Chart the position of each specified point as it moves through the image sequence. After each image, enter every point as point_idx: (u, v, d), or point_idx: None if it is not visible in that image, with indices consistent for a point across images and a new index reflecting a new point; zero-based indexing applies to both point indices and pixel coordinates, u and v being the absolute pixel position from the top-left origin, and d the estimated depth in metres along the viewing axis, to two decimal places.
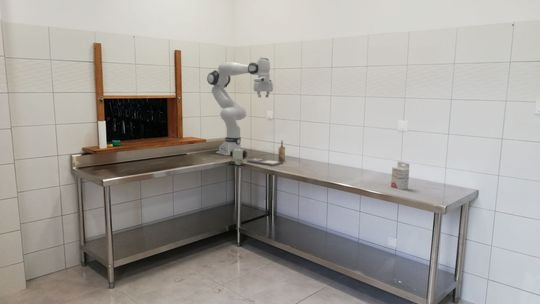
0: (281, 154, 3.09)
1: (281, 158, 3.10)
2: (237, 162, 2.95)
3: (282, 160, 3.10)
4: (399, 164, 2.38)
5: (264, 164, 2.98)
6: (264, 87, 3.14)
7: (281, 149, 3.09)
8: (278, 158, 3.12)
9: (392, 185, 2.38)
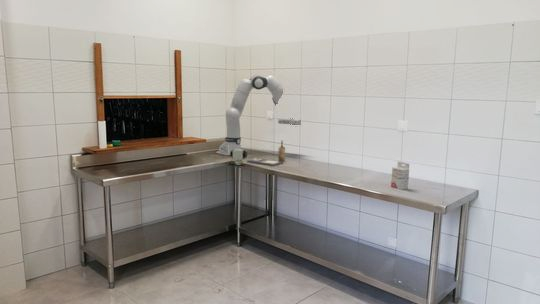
0: (281, 154, 3.09)
1: (281, 158, 3.10)
2: (237, 162, 2.95)
3: (282, 160, 3.10)
4: (399, 164, 2.38)
5: (264, 164, 2.98)
6: None
7: (281, 149, 3.09)
8: (278, 158, 3.12)
9: (392, 185, 2.38)
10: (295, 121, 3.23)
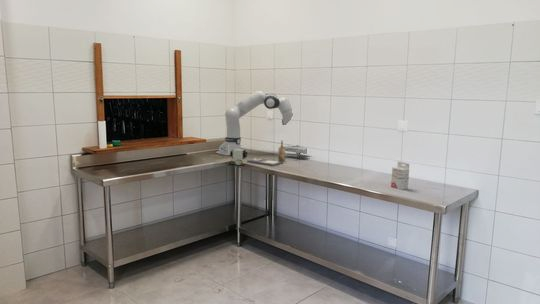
0: (281, 154, 3.09)
1: (281, 158, 3.10)
2: (237, 162, 2.95)
3: (282, 160, 3.10)
4: (399, 164, 2.38)
5: (264, 164, 2.98)
6: None
7: (281, 149, 3.09)
8: (278, 158, 3.12)
9: (392, 185, 2.38)
10: (301, 150, 3.20)
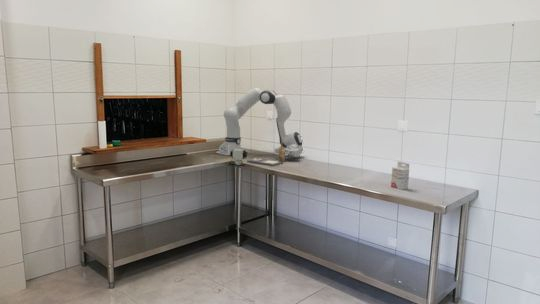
0: (281, 154, 3.09)
1: (281, 158, 3.10)
2: (237, 162, 2.95)
3: (282, 160, 3.10)
4: (399, 164, 2.38)
5: (264, 164, 2.98)
6: None
7: (281, 149, 3.09)
8: (278, 158, 3.12)
9: (392, 185, 2.38)
10: (292, 151, 3.10)
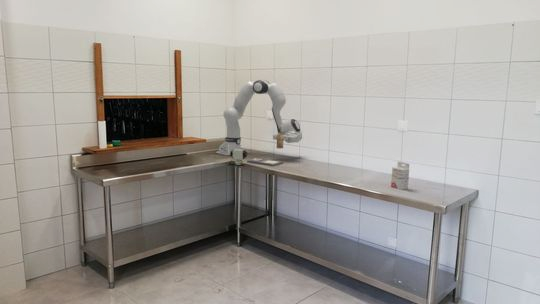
0: (279, 140, 3.06)
1: (280, 145, 3.06)
2: (237, 162, 2.95)
3: (280, 146, 3.06)
4: (399, 164, 2.38)
5: (264, 164, 2.98)
6: None
7: (279, 135, 3.05)
8: None
9: (392, 185, 2.38)
10: (291, 138, 3.06)
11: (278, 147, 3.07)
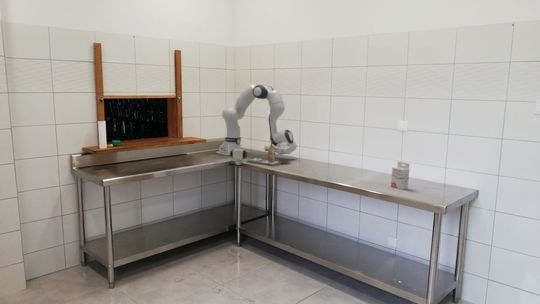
0: (271, 154, 2.99)
1: (271, 159, 2.99)
2: (237, 162, 2.95)
3: (272, 160, 3.00)
4: (399, 164, 2.38)
5: (264, 164, 2.98)
6: None
7: (270, 149, 2.98)
8: (268, 158, 3.01)
9: (392, 185, 2.38)
10: (283, 149, 2.99)
11: (269, 161, 3.00)
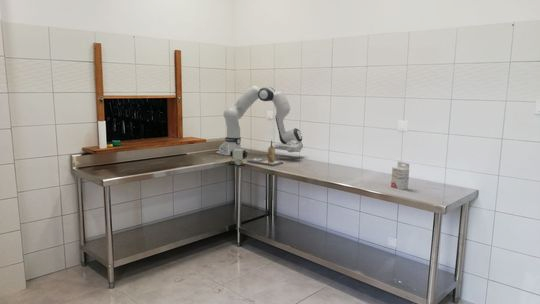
0: (271, 154, 2.99)
1: (271, 159, 2.99)
2: (237, 162, 2.95)
3: (272, 160, 3.00)
4: (399, 164, 2.38)
5: (264, 164, 2.98)
6: None
7: (271, 149, 2.98)
8: (268, 158, 3.01)
9: (392, 185, 2.38)
10: (292, 147, 3.09)
11: (269, 161, 3.00)
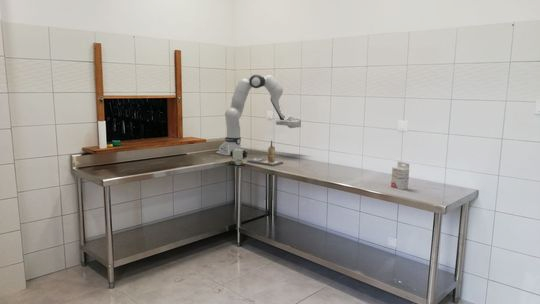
0: (271, 154, 2.99)
1: (271, 159, 2.99)
2: (237, 162, 2.95)
3: (272, 160, 3.00)
4: (399, 164, 2.38)
5: (264, 164, 2.98)
6: None
7: (271, 149, 2.98)
8: (268, 158, 3.01)
9: (392, 185, 2.38)
10: (293, 122, 3.17)
11: (269, 161, 3.00)
